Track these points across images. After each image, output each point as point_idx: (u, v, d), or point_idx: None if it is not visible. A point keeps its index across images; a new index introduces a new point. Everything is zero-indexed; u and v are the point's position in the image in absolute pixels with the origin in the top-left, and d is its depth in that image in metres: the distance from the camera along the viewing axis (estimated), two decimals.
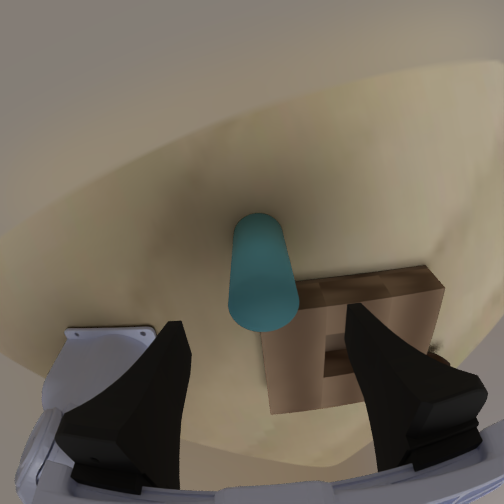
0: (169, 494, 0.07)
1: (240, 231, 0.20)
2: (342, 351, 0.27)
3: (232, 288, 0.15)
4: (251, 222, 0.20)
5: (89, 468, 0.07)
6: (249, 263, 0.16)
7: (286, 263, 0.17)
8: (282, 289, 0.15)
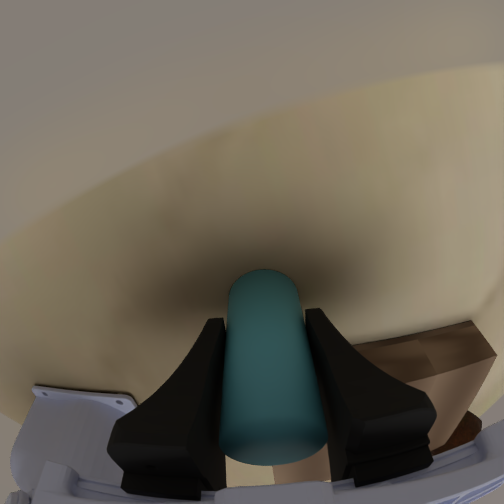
0: None
1: (238, 303, 0.13)
2: None
3: (224, 426, 0.08)
4: (253, 287, 0.14)
5: (141, 476, 0.07)
6: (251, 384, 0.09)
7: (309, 374, 0.10)
8: (304, 429, 0.08)
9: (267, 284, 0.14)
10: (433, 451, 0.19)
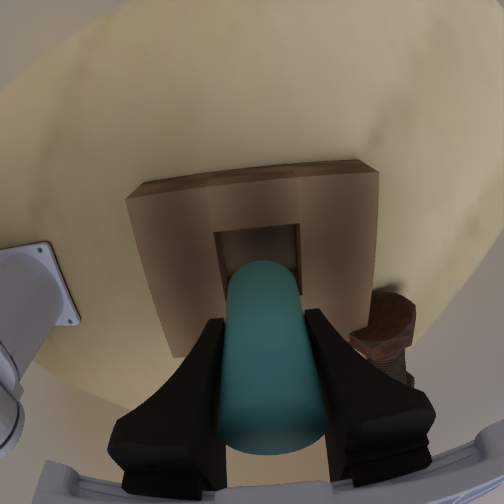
0: None
1: (233, 295, 0.14)
2: None
3: (220, 415, 0.09)
4: (248, 279, 0.14)
5: (142, 477, 0.07)
6: (244, 371, 0.09)
7: (305, 358, 0.10)
8: (300, 413, 0.08)
9: (261, 274, 0.14)
10: (353, 333, 0.21)
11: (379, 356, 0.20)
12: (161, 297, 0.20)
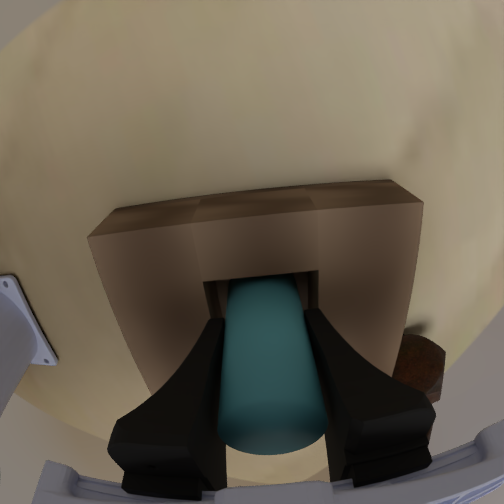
0: None
1: (233, 295, 0.14)
2: None
3: (220, 415, 0.09)
4: (248, 278, 0.14)
5: (142, 477, 0.07)
6: (244, 371, 0.09)
7: (304, 357, 0.10)
8: (300, 412, 0.08)
9: None
10: None
11: None
12: (142, 353, 0.15)
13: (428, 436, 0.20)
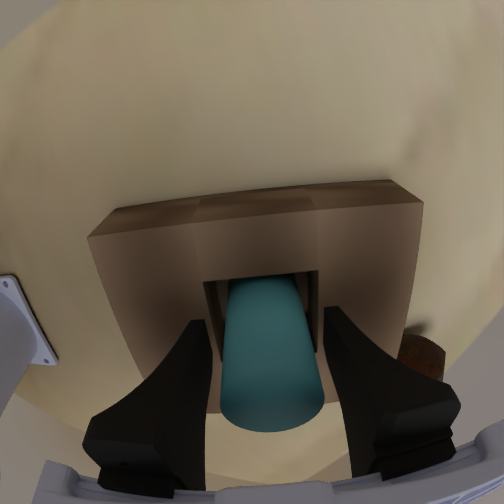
0: None
1: (234, 282, 0.14)
2: None
3: (223, 388, 0.09)
4: None
5: (117, 473, 0.07)
6: (245, 346, 0.10)
7: (302, 336, 0.11)
8: (298, 385, 0.09)
9: None
10: None
11: None
12: (141, 353, 0.15)
13: None
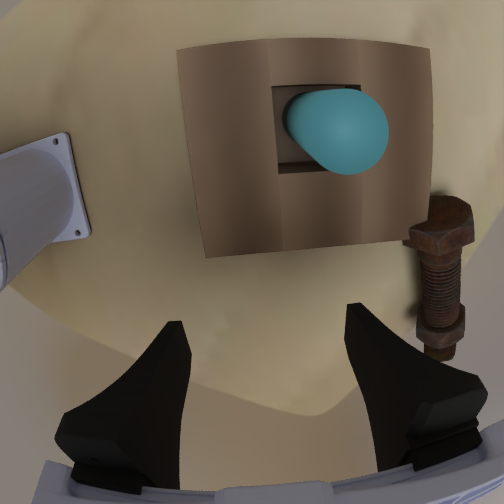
0: (169, 494, 0.07)
1: (293, 100, 0.16)
2: (309, 161, 0.19)
3: (308, 111, 0.11)
4: (302, 93, 0.16)
5: (89, 468, 0.07)
6: (320, 92, 0.12)
7: None
8: (367, 109, 0.11)
9: None
10: (414, 226, 0.18)
11: (444, 251, 0.17)
12: (202, 167, 0.17)
13: (463, 319, 0.21)
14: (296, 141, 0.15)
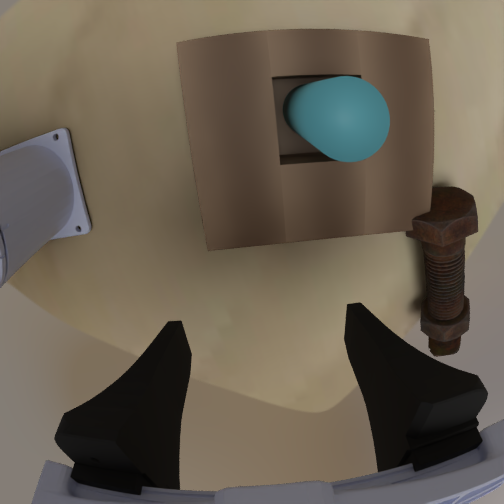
0: (169, 494, 0.07)
1: (293, 91, 0.16)
2: (311, 153, 0.19)
3: (308, 99, 0.11)
4: (303, 84, 0.16)
5: (89, 468, 0.07)
6: (320, 81, 0.12)
7: None
8: (368, 96, 0.11)
9: None
10: (417, 217, 0.18)
11: (448, 241, 0.17)
12: (203, 159, 0.17)
13: (468, 312, 0.21)
14: (297, 131, 0.15)
